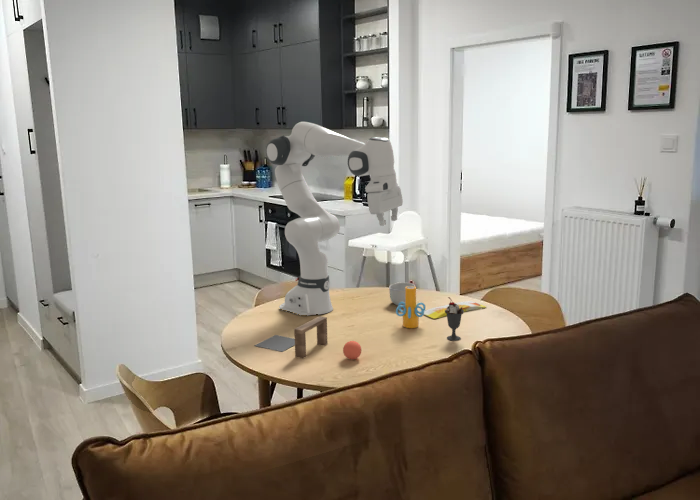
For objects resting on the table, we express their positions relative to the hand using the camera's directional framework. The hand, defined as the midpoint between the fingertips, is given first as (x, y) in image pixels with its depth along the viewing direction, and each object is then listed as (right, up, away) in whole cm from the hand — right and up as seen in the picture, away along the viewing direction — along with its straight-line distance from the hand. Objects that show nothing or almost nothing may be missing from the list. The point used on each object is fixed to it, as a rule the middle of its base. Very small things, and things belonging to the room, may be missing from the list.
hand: (388, 222), depth 219 cm
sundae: (+23, -41, +1) cm, 47 cm away
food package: (+28, -35, +32) cm, 55 cm away
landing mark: (-39, -42, -1) cm, 57 cm away
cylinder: (+9, -38, +14) cm, 42 cm away
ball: (-13, -42, -17) cm, 47 cm away
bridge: (-27, -44, -8) cm, 52 cm away
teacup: (+8, -32, +43) cm, 55 cm away
